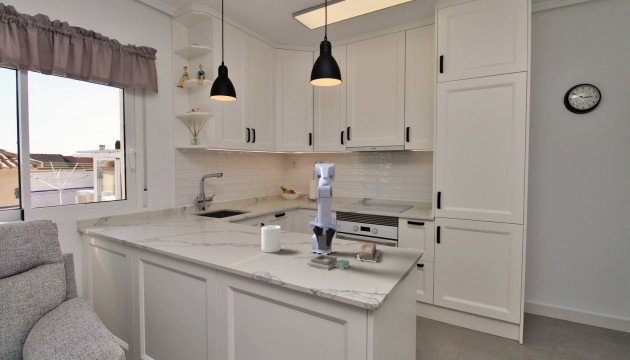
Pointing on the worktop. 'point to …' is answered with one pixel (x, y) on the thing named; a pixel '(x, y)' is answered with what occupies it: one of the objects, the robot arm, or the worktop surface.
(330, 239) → the robot arm
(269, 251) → the mug
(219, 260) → the worktop surface
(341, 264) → the cable plug
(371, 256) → the packaged product
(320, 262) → the plate
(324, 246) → the block
